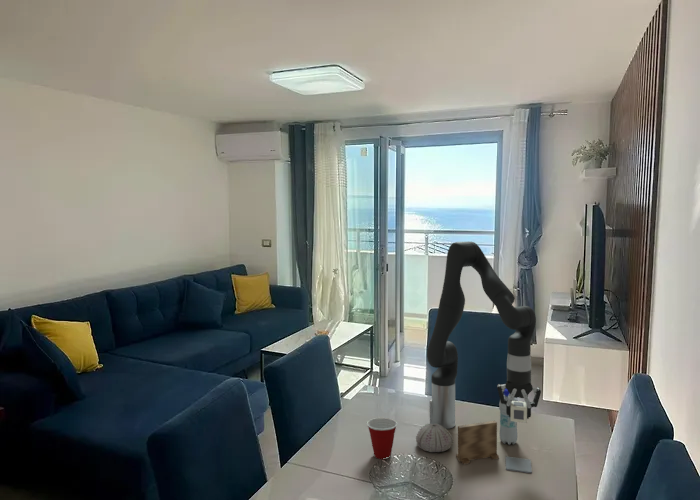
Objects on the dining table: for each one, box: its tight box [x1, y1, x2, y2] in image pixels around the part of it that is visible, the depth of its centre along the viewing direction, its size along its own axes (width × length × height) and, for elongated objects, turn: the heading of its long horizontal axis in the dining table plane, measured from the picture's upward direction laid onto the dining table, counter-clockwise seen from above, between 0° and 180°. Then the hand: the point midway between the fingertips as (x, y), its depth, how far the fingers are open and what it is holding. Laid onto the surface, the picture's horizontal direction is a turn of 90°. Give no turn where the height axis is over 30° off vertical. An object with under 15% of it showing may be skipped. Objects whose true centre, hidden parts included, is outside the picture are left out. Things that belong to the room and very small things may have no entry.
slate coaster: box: [505, 455, 533, 474], centre depth 159 cm, size 8×8×1 cm
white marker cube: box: [511, 400, 528, 424], centre depth 158 cm, size 5×5×5 cm
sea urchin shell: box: [415, 423, 454, 453], centre depth 173 cm, size 13×14×8 cm
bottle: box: [498, 388, 518, 446], centre depth 175 cm, size 7×7×20 cm
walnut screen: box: [455, 420, 500, 465], centre depth 164 cm, size 14×5×12 cm, turn 104°
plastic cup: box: [366, 417, 398, 460], centre depth 168 cm, size 11×11×12 cm
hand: (518, 416), depth 158 cm, fingers closed on white marker cube, 5 cm apart
